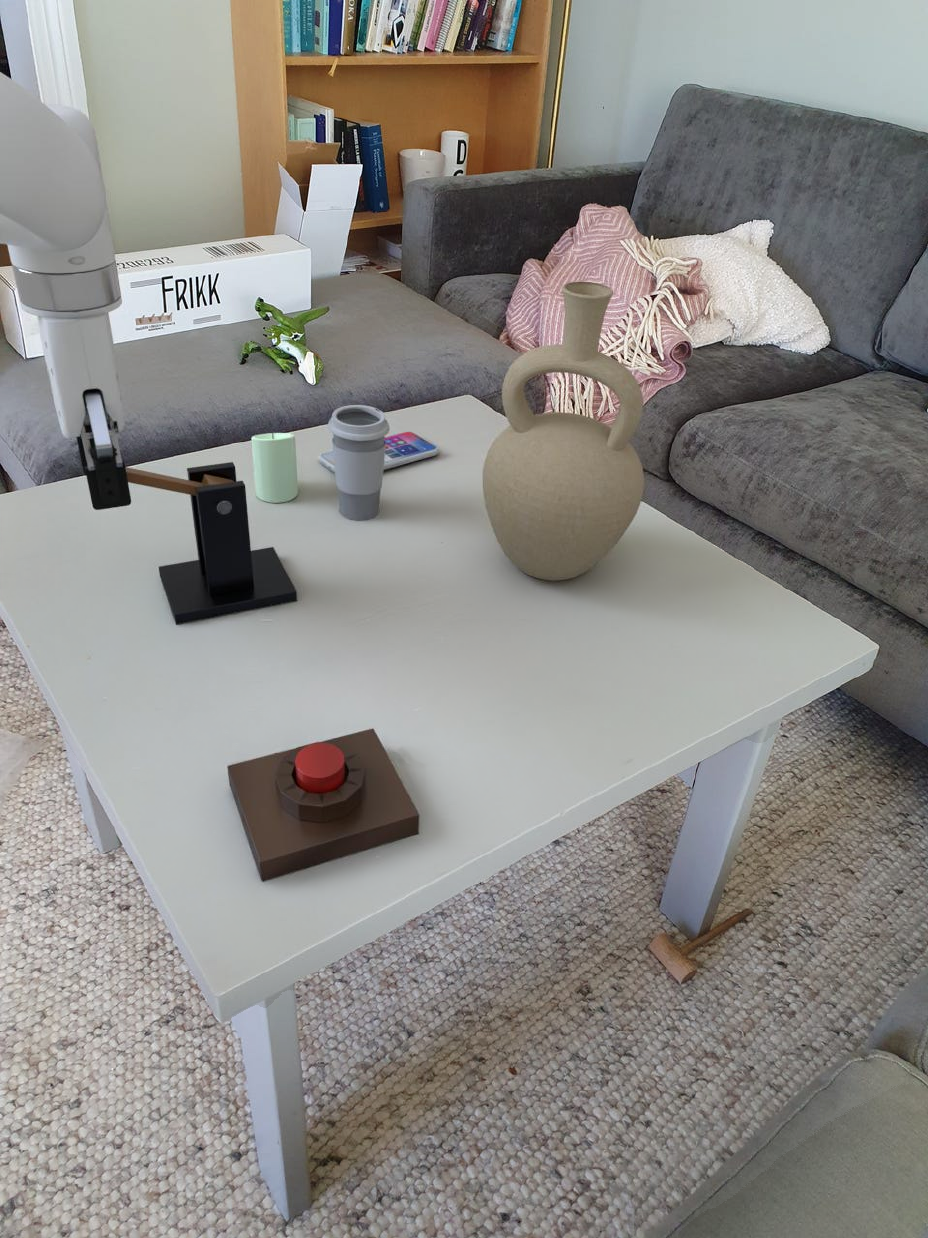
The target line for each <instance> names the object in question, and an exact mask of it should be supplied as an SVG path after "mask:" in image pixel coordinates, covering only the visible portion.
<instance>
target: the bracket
mask: <svg viewBox="0 0 928 1238" xmlns="http://www.w3.org/2000/svg"><path fill="white" fill-rule="evenodd" d="M236 470H237V469H236V465H235V464H234V462H233V461H229V462H223V463H215V464H207V465H200V466H192V467H186V472H187V480H190V481H195V482H200V483H202V480H203V477H204V474H206V475H211V476H216V477H220V478H225V479H230V480H233V482H228V483H221V484H214V485H207V486H200V487H196V488H195V489H196V496H194V495H189V496H190V497H189V498H190V505H191V511H192V519H193V528H194V535H195V542H196V550H197V556H198V558H197V559H195V560H190V561H189V560H188V561H183V562H177V563H172V564H165V565H160V566H158V572H159V578H160V581H161V584H162V586H163V590H164V593H165V596H166V599H167V601H168V605H169V608H170V611H171V614H172V617H173V620H174V623H175V625H181V624H187V623H191V622H196V621H203V620H207V619H212V618H213V619H214V618H217V617H221V616H227V615H234V614H238V613H242V612H248V611H253V610H258V609H263V608H269V607H274V606H278V605H284V604H288V603H294V602H298V592H297V591H298V590H297V589H296V587H295V585H294V584H293V582H292V580H291V578H290V576H289V574H288V573H287V570H286V568H285V566H284V564H283V562H282V560H281V559H280V557H279V556H278V555H279V554H278V553H277V552H276V549H275V547H274V546H271V547H264V548H259V549H254V550H252V549H251V548H252V547H251V535H250V526H249V525H250V524H249V514H248V512H249V511H248V501H247V491H246V489H247V488H246V484H245V482H244V480H237V472H236Z"/></svg>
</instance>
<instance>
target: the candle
mask: <svg viewBox="0 0 928 1238" xmlns="http://www.w3.org/2000/svg"><path fill="white" fill-rule="evenodd" d="M296 447H297V444H296V435H295V434H293V433H287V432H269V433H261V434H255V435H253V436H251V451H252V461H253V462H252V463H253V475H254V477H253V478H254V489H255V496H256V497H257V498H258V499H259V500H261V501H263V502H265V503H269V504H270V503H271V504H282V503H286V502H290V501H292V500H294V499H295V498H296V497H297V496H298V494H299V486H298V485H299V484H298V482H299V481H298V467H297V448H296Z"/></svg>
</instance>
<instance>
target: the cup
mask: <svg viewBox="0 0 928 1238" xmlns="http://www.w3.org/2000/svg"><path fill="white" fill-rule="evenodd" d="M327 428H328V431H330V433H331V434H332V438H331V445H332V451H333V455H334V466H335V473H334V475H335V476H334V477H335V485H336V487H337V495H338V496H337V497H338V507H339V514H341V516H342V517H344V518H346V519H349V520H353V521H366V520H367V521H368V520H370V519H373V518H375V517H376V516H378V514H379V512H380V503H381V502H380V501H381V491H382V487H383V482H384V481H383V479H384V470H383V468H384V456H385V444H386V442H385V437H386V436H387V435H388V434H389V432H390V424H389V422H388V420H387V419H386V414H385V413H384V412H383V411H382V410H380V409H379V408H378V407H375V406H374V407H373V406H370V405H364V404H350V405H349V404H348V405H344V406H340V407H338V408H335V410H333V412H332V414H331V417H330V418H329V420H328V423H327Z"/></svg>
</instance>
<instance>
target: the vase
mask: <svg viewBox="0 0 928 1238" xmlns="http://www.w3.org/2000/svg"><path fill="white" fill-rule="evenodd" d="M561 293H562V298H563V311H564V313H563V315H564V316H563V317H564V318H563V334H562V342H561V343H562V344H549V345H541V346H538V347H535V348H532V349H529V350H527V351H526V352H525V353H523V354H522V355H520V356H519V357H517V358H516V359H515V360H514V361H513V363H511V365H510V366H509V367H508V369H507V372H506V374H505V376H504V378H503V382H502V386H501V387H502V388H501V390H502V391H501V401H502V407H503V411H504V414H505V417H506V419H507V422H508V424H509V426H507V427H506V428H505V429H504V430H502V431H501V432H500V433H499V434H498V435H497V437H495V439H494V440H493V442H492V443H491V445H490V446H489V449H488V450H487V453H486V456H485V459H484V462H483V467H482V492H483V500H484V505H485V509H486V513H487V516H488V520H489V523H490V526H491V529H492V531H493V533H494V536H495V538H496V541H497V543H498V545H499V546H500V548H501V550H502V552H503V553H504V555H505V556H506V557H507V559H508V560H509V561H510V563H511V564H512V565H513V566H514V567H515V568H517V569H518V570H520V571H521V572H522V573H524V574H526V575H528V576H531V577H534V578H536V579H540V580H546V581H551V582H552V581H565V580H569V579H574V578H576V577H578V576H581V575H582V574H584V573H586V572H588V571H590V569H592V568H593V567H594V566H595V565H597V564H598V563H599V562H601V560H602V559H603V558H605V556H606V555H608V553H609V552H610V551H611V550H612V549H613V548H614V547H615V546H616V544H617V543H618V542H619V541H620V540H621V539H622V537H623V535H624V534H625V533H626V531H627V530H628V528H629V527H630V526H631V524H632V523H633V520H634V519H635V517H636V515H637V513H638V512H639V511H638V510H639V508H640V506H641V502H642V498H643V496H644V491H645V475H644V469H643V465H642V463H641V460H640V456H639V455H638V453H637V451H636V450H635V448H634V447H633V446H632V445H631V443H630V442H629V441H630V440H631V439H632V437H633V436H634V435H635V432H636V430H637V428H638V426H639V424H640V421H641V419H642V416H643V413H644V395H643V391H642V388H641V387H640V384H639V382H638V379H637V378H636V377H635V376H634V374H633V373H632V372H631V371H630V370H629V369H628V367H626V366H625V365H624V364H623V363H621V362H620V361H618V360H617V359H615V358H613V357H611V356H609V355H607V354H606V353H604V352H600V351H599V347H600V339H601V333H602V328H603V324H604V319H605V315H606V312H607V310H608V306H609V304H610V300H611V298H612V296H613V295H614V290H613V289H612V288H611V287H609V286H608V285H606V284H602V283H598V282H593V281H592V282H591V281H581V280H579V281H570V282H569V281H568V282H567V283H564V284H563V285H562V286H561ZM552 373H565V374H571V375H578V376H583V377H586V378H589V379H591V380H594V381H596V382H597V383H601V385H603V386H605V387H607V388H608V389H609V390H610V391H612V393H613V394H614V395H615V397H616V399H617V400H618V403H619V406H618V410H617V413H616V415H615V417H614V420H613V422H612V425H611V426H610V425H608V424H607V423H605V422H602V421H600V420H597V419H595V418H594V417H590V416H586V415H583V414H578V413H574V412H561V411H553V412H549V411H547V412H544V413H538V414H535V413H534V412H533V411H532V409H531V407H530V406H529V403H528V401H527V396H526V392H525V387H526V383H527V382H528V381H530V380H531V379H533V378H534V377H537V376H539V375H544V374H545V375H546V374H552Z"/></svg>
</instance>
